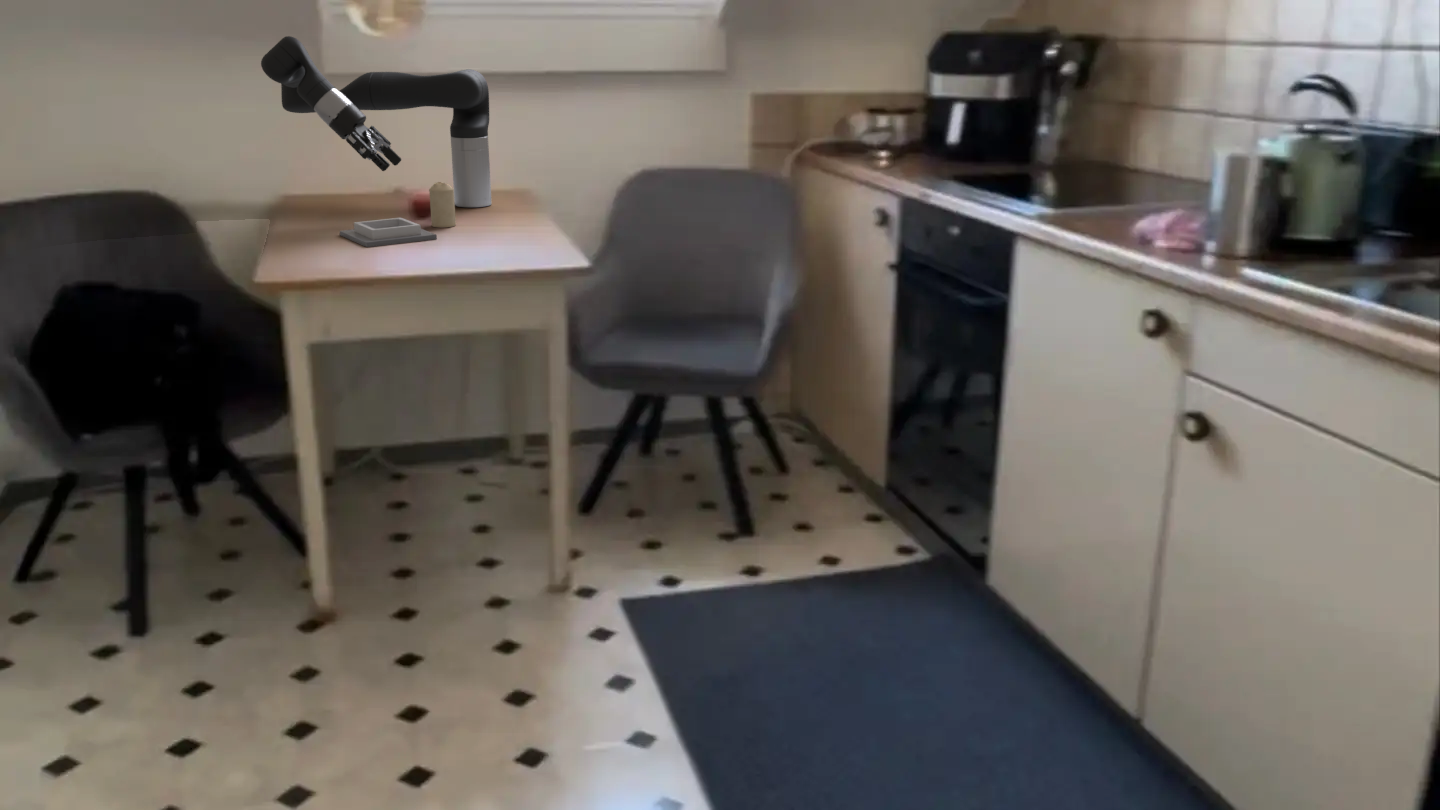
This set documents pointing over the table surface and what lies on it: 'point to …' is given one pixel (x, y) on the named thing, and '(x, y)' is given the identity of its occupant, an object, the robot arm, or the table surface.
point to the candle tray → (386, 232)
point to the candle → (442, 205)
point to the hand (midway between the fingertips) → (392, 165)
